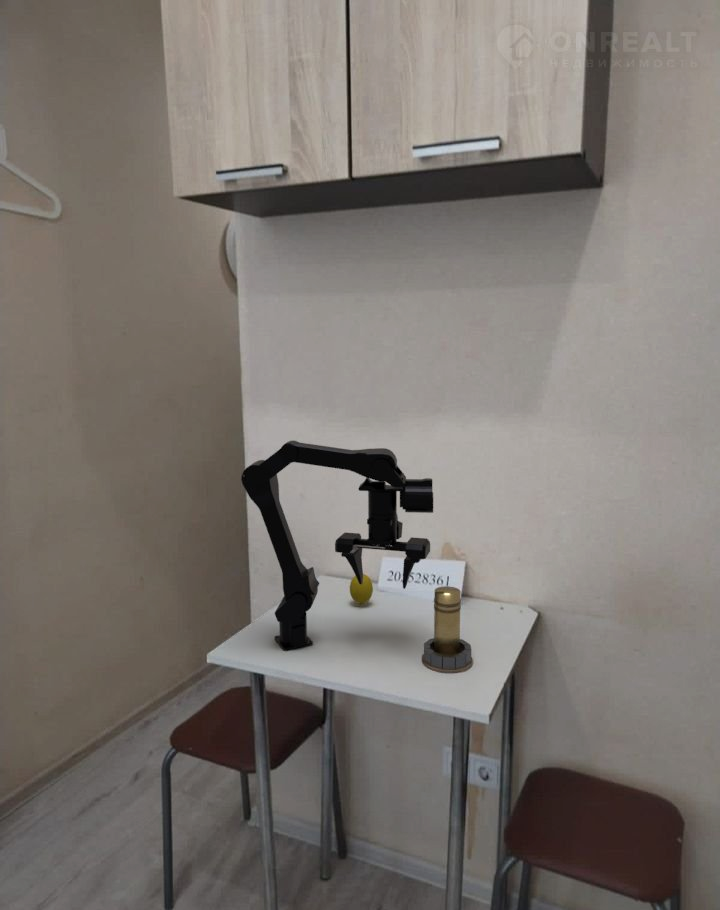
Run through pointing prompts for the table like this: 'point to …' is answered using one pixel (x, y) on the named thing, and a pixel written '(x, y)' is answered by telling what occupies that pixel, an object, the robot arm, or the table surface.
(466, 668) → the collar plate
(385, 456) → the robot arm
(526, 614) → the table surface
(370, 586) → the lemon
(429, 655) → the collar
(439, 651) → the piston
